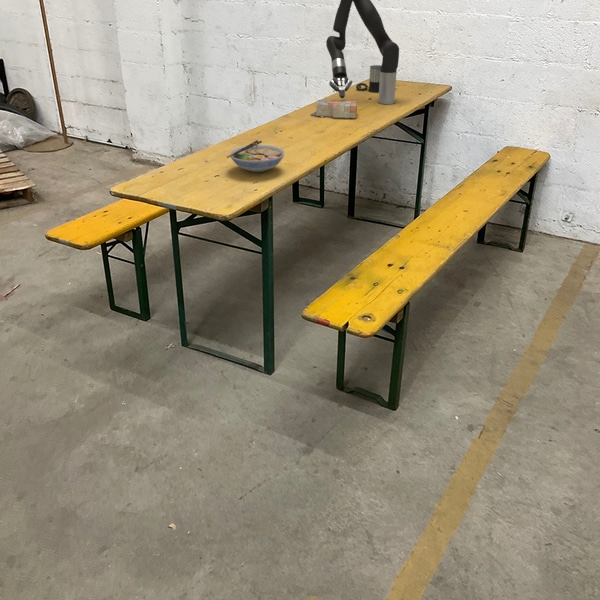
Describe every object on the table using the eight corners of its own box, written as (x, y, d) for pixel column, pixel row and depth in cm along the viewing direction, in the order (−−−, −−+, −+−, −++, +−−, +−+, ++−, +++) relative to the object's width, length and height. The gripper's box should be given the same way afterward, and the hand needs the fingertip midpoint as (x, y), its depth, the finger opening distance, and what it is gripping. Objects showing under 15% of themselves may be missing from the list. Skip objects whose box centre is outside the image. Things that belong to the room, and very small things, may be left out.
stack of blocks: (317, 111, 341) (315, 117, 330) (318, 100, 338) (315, 105, 327) (357, 112, 339) (355, 118, 328) (357, 101, 335) (356, 106, 325)
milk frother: (385, 92, 386) (386, 67, 378) (360, 93, 383) (361, 68, 376) (377, 87, 398) (379, 63, 390) (354, 89, 395) (355, 64, 388)
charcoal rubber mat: (316, 112, 343) (316, 111, 342) (352, 115, 335) (352, 114, 335) (310, 115, 335) (310, 114, 335) (347, 119, 328) (347, 118, 328)
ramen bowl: (265, 183, 243) (264, 162, 239) (217, 174, 253) (216, 154, 249) (296, 165, 262) (296, 146, 258) (251, 157, 272) (250, 139, 268)
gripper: (327, 65, 334) (331, 93, 330) (352, 64, 335) (355, 93, 331) (326, 73, 341) (329, 101, 337) (349, 73, 343) (353, 101, 338)
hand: (342, 97), depth 334 cm, fingers closed
